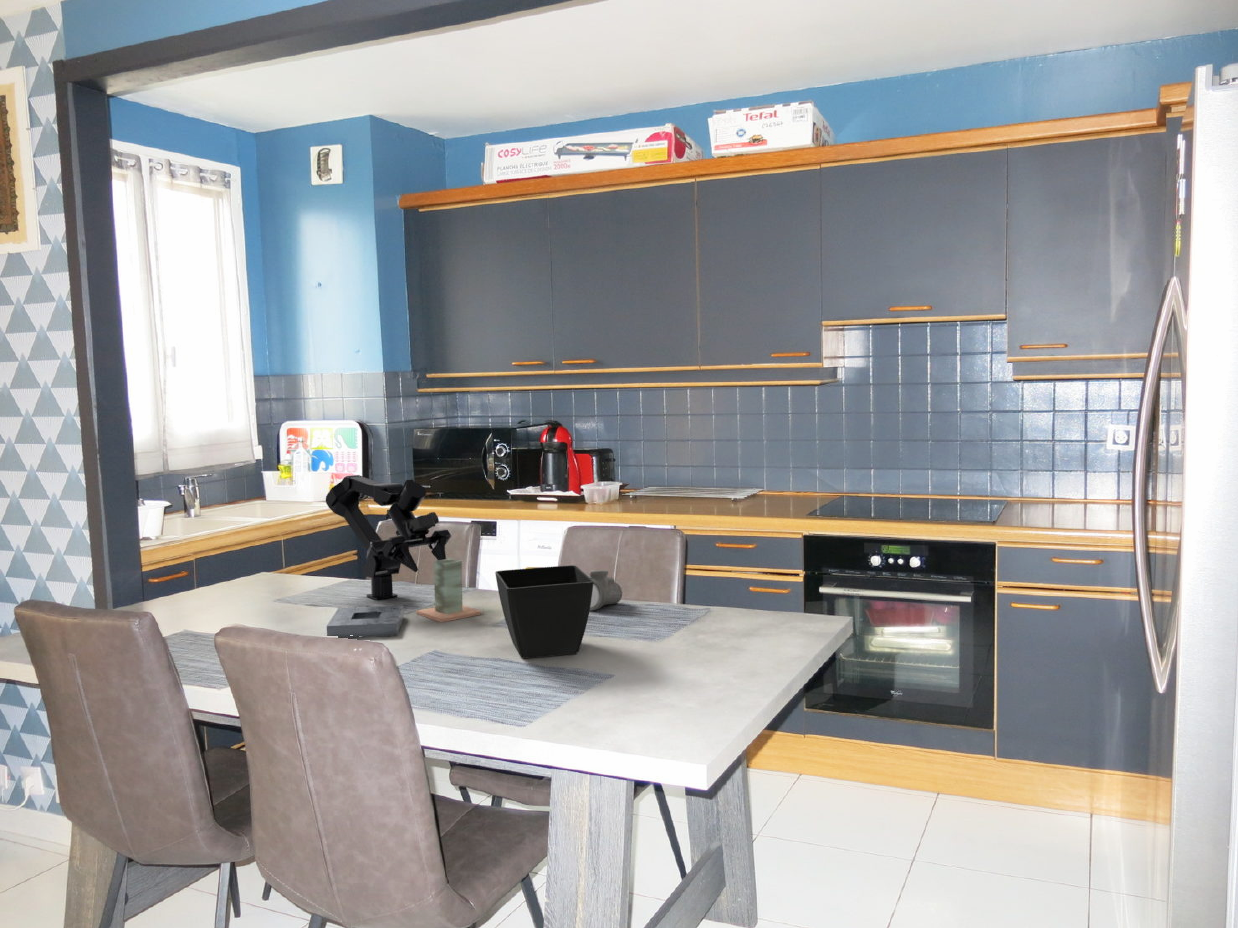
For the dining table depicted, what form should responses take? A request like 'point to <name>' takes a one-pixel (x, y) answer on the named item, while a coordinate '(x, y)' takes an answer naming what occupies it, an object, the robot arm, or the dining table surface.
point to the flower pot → (545, 608)
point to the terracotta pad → (447, 617)
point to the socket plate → (366, 621)
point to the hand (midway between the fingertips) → (431, 568)
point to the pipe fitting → (604, 590)
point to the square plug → (448, 586)
